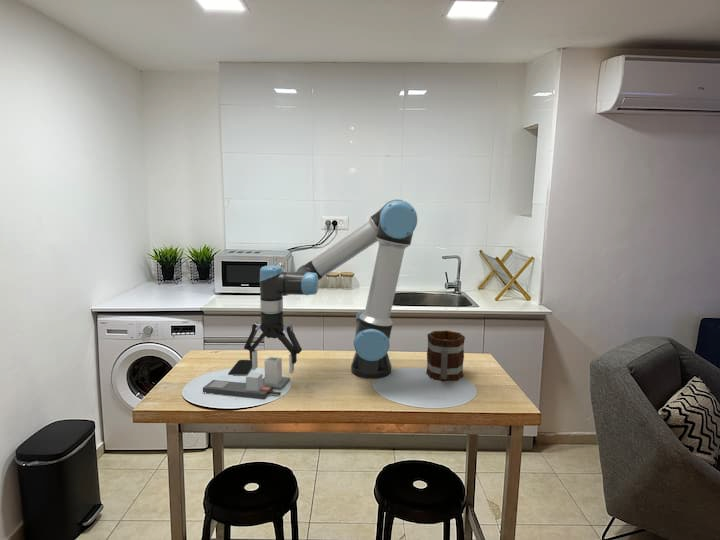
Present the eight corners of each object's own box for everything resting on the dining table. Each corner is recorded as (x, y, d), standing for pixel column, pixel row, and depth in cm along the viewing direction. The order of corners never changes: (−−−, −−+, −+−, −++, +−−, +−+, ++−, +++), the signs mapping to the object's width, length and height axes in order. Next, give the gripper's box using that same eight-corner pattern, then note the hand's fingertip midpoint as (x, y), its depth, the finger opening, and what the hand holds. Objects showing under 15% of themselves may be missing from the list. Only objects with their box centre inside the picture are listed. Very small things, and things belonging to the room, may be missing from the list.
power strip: (284, 391, 168) (284, 385, 167) (276, 400, 161) (276, 394, 161) (213, 384, 173) (213, 378, 173) (203, 392, 166) (202, 386, 166)
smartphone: (227, 374, 182) (238, 359, 196) (227, 376, 182) (239, 361, 197) (247, 374, 181) (257, 360, 196) (247, 377, 181) (257, 362, 196)
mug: (427, 366, 192) (428, 329, 189) (463, 369, 189) (465, 331, 187) (423, 386, 173) (424, 345, 170) (463, 390, 170) (464, 348, 168)
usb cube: (262, 386, 167) (262, 373, 167) (257, 390, 164) (257, 377, 163) (251, 384, 168) (251, 372, 167) (246, 389, 164) (246, 376, 164)
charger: (282, 379, 176) (281, 356, 174) (277, 384, 171) (276, 361, 170) (270, 378, 177) (269, 355, 175) (265, 383, 172) (264, 359, 171)
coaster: (290, 380, 178) (290, 377, 178) (281, 390, 169) (280, 387, 169) (266, 377, 180) (266, 375, 179) (256, 387, 171) (256, 385, 171)
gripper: (310, 310, 171) (310, 369, 174) (242, 306, 176) (244, 363, 180) (303, 316, 164) (304, 377, 167) (233, 311, 169) (235, 371, 172)
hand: (273, 370), depth 173 cm, fingers open, 13 cm apart
